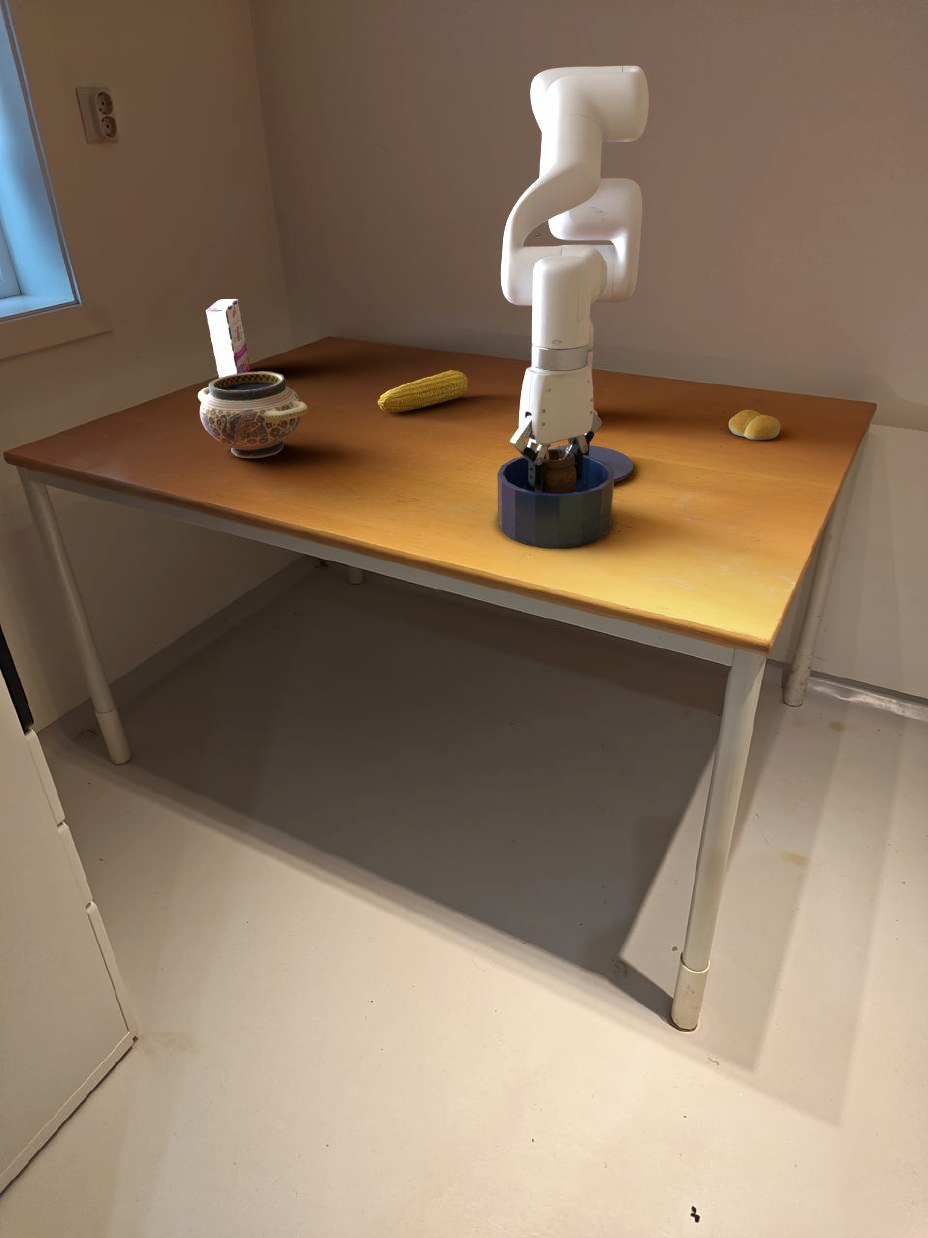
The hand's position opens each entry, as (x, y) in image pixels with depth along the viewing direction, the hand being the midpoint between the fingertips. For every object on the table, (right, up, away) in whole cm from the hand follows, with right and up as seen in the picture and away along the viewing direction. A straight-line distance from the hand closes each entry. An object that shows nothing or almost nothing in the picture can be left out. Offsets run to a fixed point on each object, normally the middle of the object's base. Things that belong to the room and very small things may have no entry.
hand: (555, 481), depth 122 cm
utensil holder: (0, -3, +2) cm, 3 cm away
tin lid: (+6, +6, +21) cm, 23 cm away
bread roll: (+40, +14, +34) cm, 55 cm away
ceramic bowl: (-51, +11, +34) cm, 62 cm away
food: (-21, +24, +53) cm, 62 cm away
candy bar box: (-67, +37, +76) cm, 108 cm away
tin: (0, -6, +4) cm, 7 cm away
